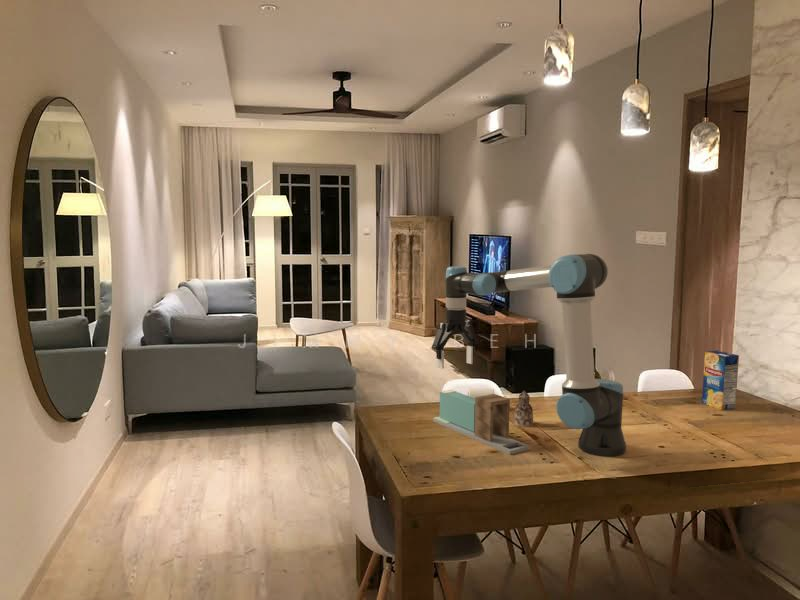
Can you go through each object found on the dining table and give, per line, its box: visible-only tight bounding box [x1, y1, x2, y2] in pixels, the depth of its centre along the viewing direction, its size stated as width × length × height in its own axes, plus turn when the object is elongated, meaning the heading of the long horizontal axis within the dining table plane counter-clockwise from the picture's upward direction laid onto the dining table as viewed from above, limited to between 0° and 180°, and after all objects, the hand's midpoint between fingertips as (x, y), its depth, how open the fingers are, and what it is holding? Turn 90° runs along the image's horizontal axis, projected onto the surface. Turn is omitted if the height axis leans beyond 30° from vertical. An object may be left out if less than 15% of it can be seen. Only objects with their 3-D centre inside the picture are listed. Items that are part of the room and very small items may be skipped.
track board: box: [432, 415, 531, 456], centre depth 234 cm, size 42×9×1 cm, turn 33°
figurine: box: [513, 390, 534, 428], centre depth 246 cm, size 7×7×12 cm
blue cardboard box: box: [701, 349, 740, 411], centre depth 271 cm, size 7×11×22 cm, turn 18°
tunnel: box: [475, 393, 511, 442], centre depth 227 cm, size 8×8×14 cm
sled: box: [439, 389, 475, 432], centre depth 241 cm, size 20×5×10 cm, turn 33°
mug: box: [467, 388, 495, 398], centre depth 269 cm, size 12×10×8 cm
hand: (455, 365), depth 246 cm, fingers open, 13 cm apart
